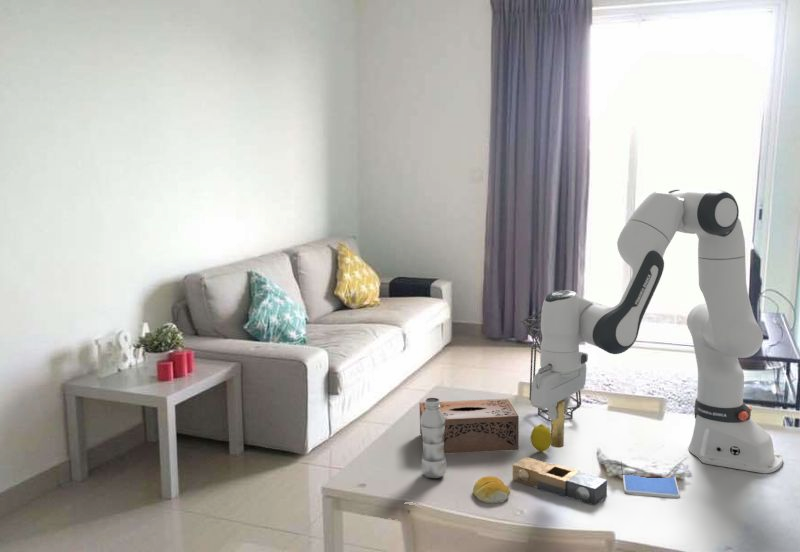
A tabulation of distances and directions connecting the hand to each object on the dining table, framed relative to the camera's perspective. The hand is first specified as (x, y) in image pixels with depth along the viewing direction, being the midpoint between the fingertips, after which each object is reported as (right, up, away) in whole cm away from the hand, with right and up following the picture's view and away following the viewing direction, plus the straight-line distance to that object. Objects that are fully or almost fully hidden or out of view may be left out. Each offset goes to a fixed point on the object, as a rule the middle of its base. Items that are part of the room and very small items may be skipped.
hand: (558, 416), depth 174 cm
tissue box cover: (-18, -14, +33) cm, 40 cm away
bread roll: (-16, -19, 0) cm, 25 cm away
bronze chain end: (-2, -18, +5) cm, 18 cm away
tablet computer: (+24, -17, +7) cm, 30 cm away
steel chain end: (+3, -18, +1) cm, 18 cm away
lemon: (+1, -15, +24) cm, 28 cm away
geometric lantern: (+9, -10, +50) cm, 52 cm away
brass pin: (0, -7, +1) cm, 7 cm away
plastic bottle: (-29, -17, +11) cm, 36 cm away
